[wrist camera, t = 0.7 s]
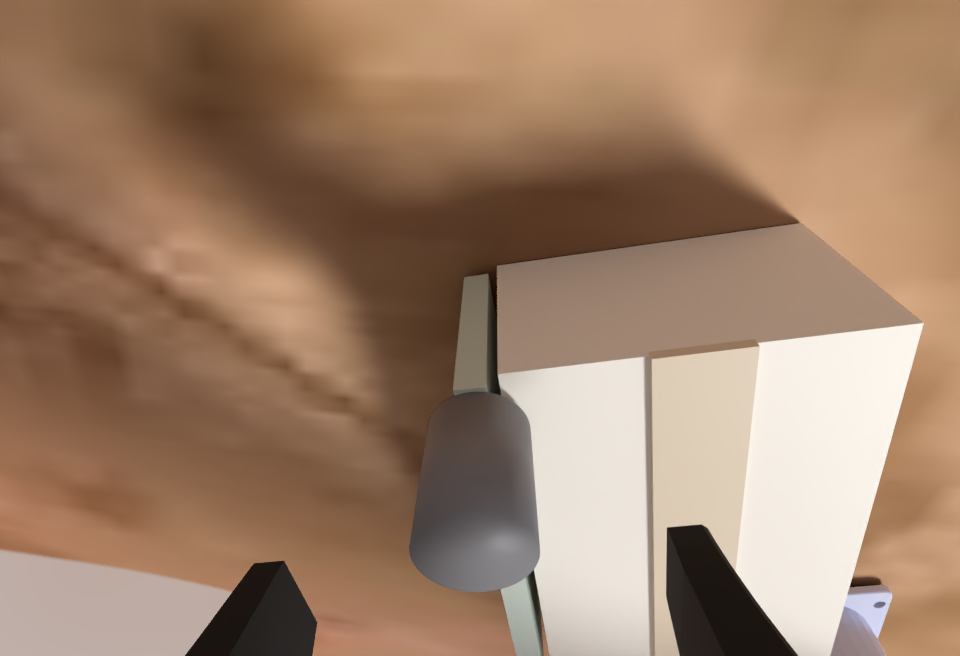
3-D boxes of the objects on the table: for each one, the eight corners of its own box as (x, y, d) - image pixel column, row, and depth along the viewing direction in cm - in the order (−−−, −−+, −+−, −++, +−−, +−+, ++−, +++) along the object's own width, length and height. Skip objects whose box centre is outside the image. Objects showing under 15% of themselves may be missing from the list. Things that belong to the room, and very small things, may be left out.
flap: (555, 540, 26) (583, 801, 18) (498, 545, 26) (499, 805, 18) (515, 269, 19) (531, 498, 11) (437, 280, 19) (394, 511, 11)
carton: (760, 522, 25) (831, 667, 20) (542, 541, 26) (554, 685, 21) (801, 221, 18) (930, 325, 13) (496, 264, 19) (497, 377, 14)
